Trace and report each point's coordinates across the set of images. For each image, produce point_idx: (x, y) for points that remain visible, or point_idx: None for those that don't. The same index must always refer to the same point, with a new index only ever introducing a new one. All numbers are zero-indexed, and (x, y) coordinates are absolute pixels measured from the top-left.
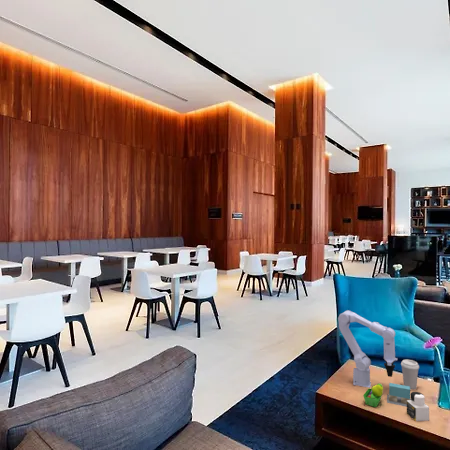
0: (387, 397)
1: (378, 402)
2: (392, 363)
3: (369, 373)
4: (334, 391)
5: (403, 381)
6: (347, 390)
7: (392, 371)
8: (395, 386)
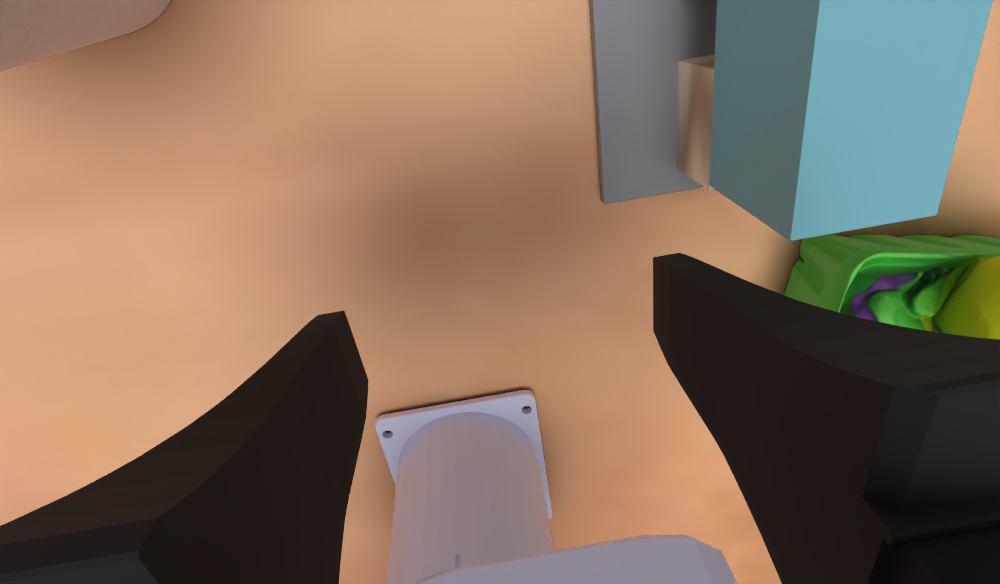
0: (697, 182)
1: (957, 241)
2: (266, 465)
3: (483, 536)
4: (754, 566)
5: (90, 44)
6: (688, 512)
7: (798, 311)
8: (942, 101)
